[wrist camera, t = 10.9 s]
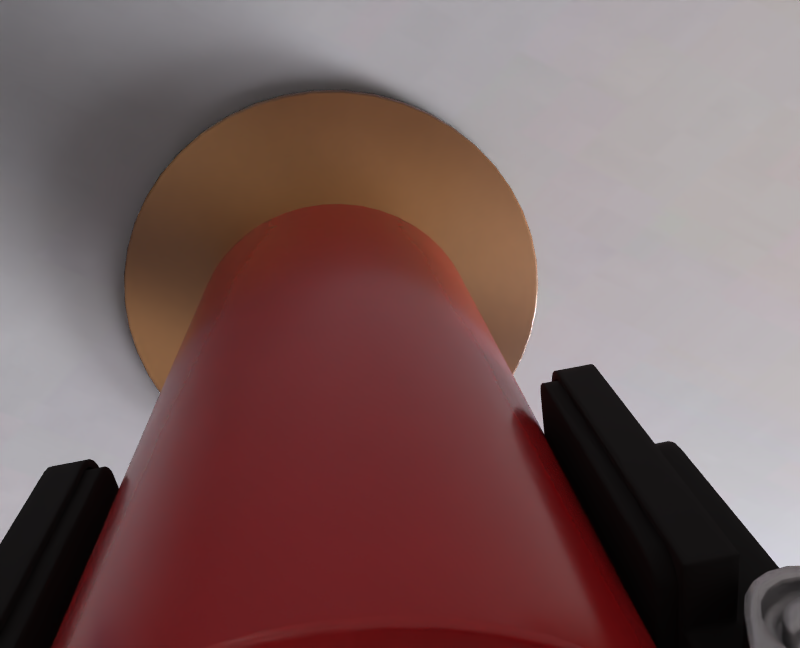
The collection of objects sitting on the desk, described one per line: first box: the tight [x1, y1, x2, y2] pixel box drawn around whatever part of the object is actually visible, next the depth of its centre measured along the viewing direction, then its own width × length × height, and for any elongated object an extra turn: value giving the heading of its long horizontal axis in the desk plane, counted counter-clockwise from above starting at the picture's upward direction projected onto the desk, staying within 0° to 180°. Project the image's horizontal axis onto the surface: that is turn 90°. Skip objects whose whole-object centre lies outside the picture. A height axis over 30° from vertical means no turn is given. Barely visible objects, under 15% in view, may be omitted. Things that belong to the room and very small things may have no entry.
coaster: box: [124, 90, 538, 393], centre depth 18 cm, size 10×10×1 cm
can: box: [51, 204, 657, 648], centre depth 11 cm, size 6×6×11 cm
